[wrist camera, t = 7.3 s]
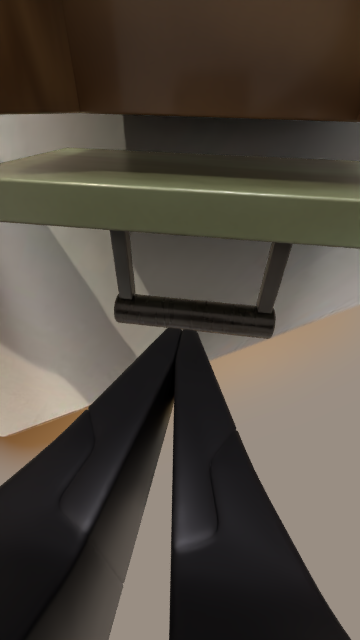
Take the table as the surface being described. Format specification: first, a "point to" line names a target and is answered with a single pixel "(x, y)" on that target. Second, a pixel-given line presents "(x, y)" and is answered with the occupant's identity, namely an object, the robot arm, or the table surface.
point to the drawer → (187, 101)
